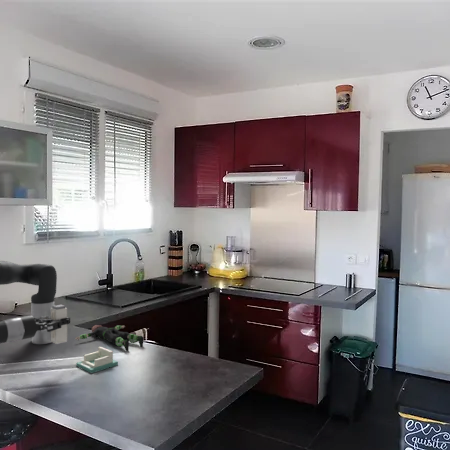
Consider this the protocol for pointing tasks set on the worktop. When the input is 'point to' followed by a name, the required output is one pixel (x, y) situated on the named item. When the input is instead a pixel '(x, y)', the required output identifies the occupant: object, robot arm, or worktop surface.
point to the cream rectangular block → (61, 333)
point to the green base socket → (97, 360)
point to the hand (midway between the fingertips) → (66, 319)
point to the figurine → (114, 336)
